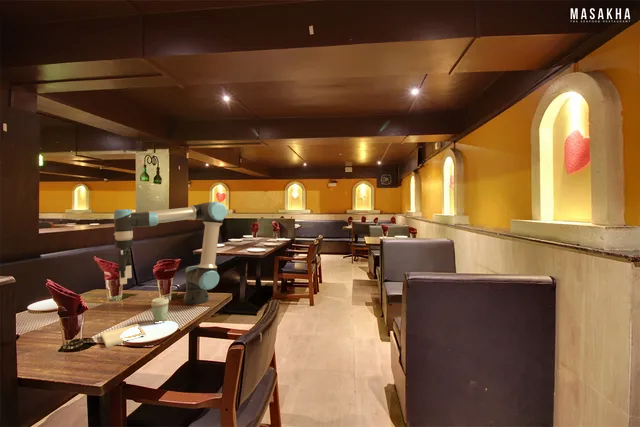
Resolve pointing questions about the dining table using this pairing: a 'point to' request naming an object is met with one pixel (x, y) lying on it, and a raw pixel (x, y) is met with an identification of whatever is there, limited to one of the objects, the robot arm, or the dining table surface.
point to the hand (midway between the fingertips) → (126, 280)
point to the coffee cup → (160, 309)
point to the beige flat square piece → (118, 335)
